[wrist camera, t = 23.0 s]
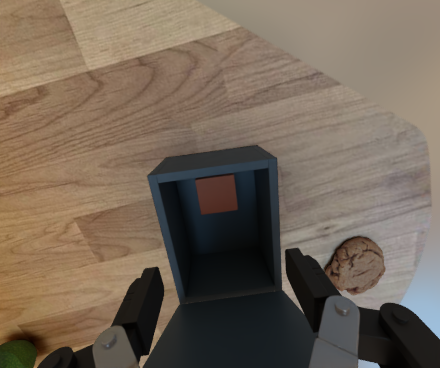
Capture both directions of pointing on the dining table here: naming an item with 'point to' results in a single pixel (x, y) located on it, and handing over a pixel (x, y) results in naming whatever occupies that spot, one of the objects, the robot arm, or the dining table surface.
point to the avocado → (17, 354)
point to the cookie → (356, 266)
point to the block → (216, 193)
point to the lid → (236, 334)
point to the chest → (220, 225)
